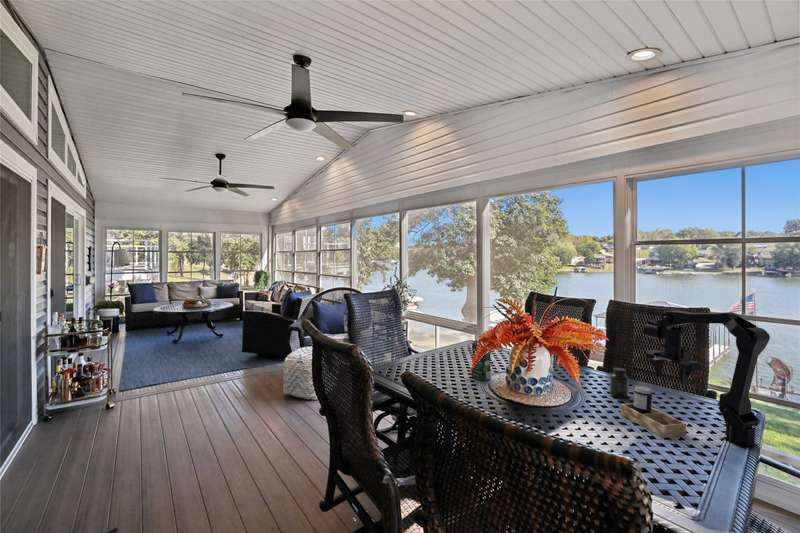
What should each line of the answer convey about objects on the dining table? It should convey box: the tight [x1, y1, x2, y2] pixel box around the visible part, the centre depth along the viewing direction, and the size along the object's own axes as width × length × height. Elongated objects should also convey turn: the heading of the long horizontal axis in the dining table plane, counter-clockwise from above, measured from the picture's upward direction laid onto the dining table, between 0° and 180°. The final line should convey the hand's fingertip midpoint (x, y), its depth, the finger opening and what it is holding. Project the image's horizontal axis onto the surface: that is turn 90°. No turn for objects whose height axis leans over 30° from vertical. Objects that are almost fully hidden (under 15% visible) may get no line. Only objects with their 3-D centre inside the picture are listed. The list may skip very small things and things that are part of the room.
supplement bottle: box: [609, 367, 629, 400], centre depth 162 cm, size 7×7×12 cm
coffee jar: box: [470, 339, 492, 381], centre depth 183 cm, size 10×8×19 cm
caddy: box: [620, 402, 687, 439], centre depth 136 cm, size 18×10×4 cm, turn 12°
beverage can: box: [633, 385, 653, 414], centre depth 140 cm, size 6×6×12 cm
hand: (670, 381), depth 145 cm, fingers open, 9 cm apart
